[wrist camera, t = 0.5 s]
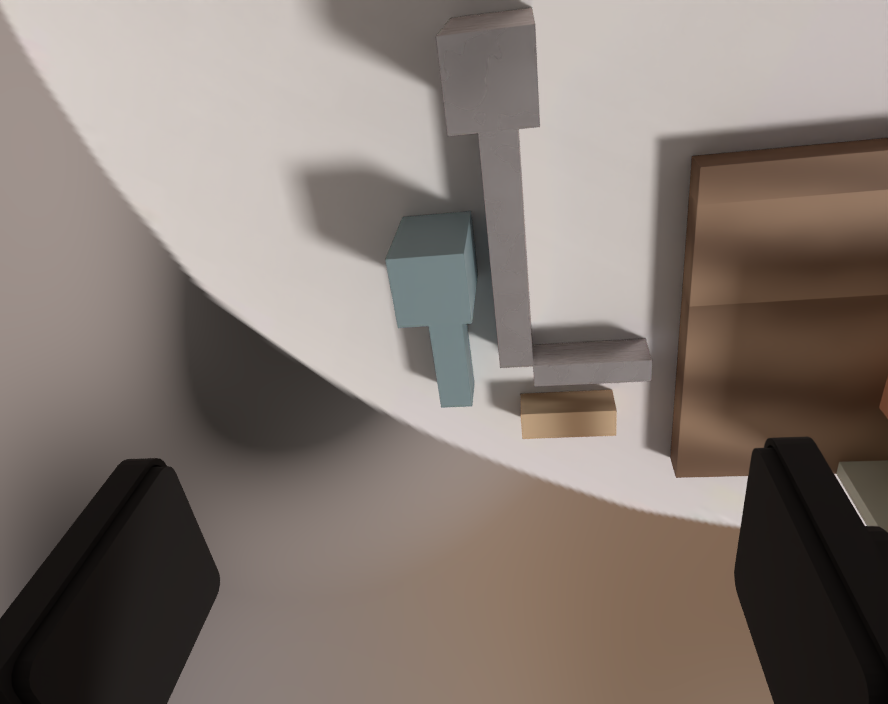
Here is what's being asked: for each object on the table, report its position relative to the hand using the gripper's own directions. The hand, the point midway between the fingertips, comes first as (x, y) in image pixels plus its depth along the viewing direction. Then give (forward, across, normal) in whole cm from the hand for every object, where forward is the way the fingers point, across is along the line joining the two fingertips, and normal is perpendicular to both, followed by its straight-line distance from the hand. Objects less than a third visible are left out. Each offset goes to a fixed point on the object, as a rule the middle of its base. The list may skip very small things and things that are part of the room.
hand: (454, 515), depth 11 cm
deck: (+29, -22, +13) cm, 39 cm away
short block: (+29, -3, +19) cm, 35 cm away
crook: (+29, -3, +5) cm, 29 cm away
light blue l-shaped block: (+29, +4, +11) cm, 31 cm away
